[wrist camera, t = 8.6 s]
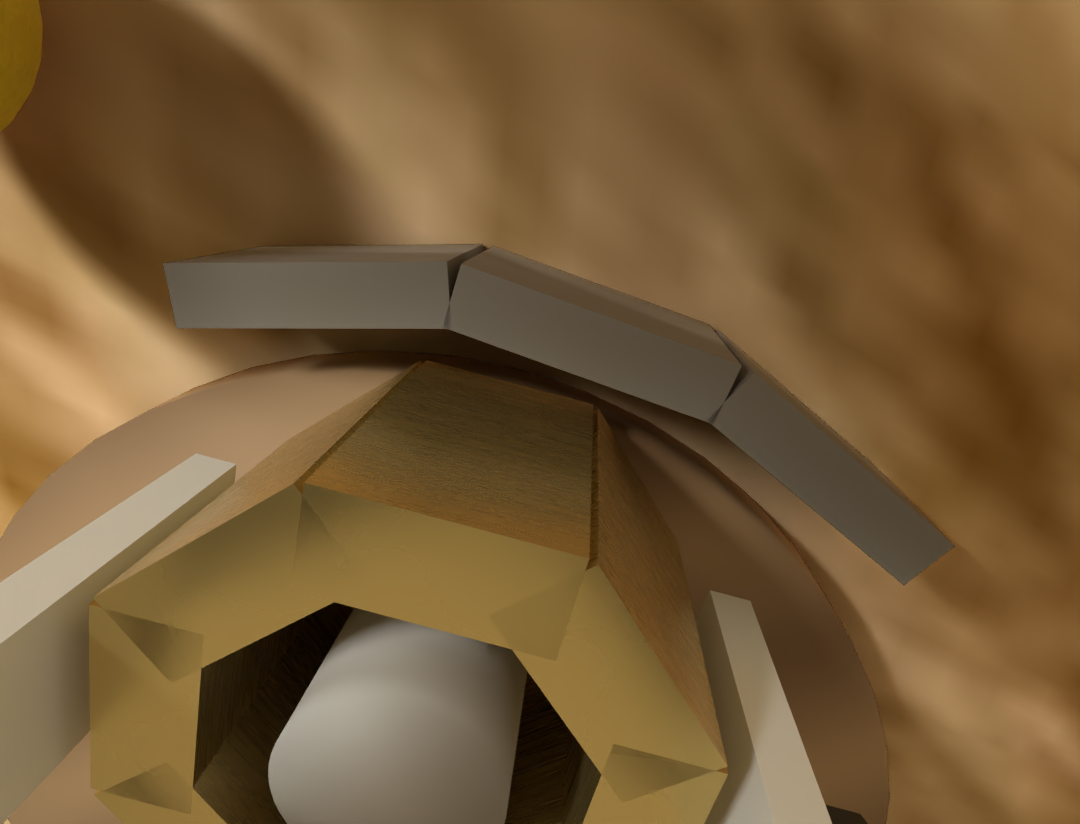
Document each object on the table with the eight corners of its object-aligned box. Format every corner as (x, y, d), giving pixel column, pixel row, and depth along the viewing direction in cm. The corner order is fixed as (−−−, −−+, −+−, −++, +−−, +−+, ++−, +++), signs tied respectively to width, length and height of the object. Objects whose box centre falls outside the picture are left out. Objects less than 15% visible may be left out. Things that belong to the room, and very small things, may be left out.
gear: (201, 490, 13) (-34, 670, 8) (531, 294, 11) (478, 377, 6) (418, 757, 15) (332, 1028, 10) (730, 631, 13) (809, 894, 8)
